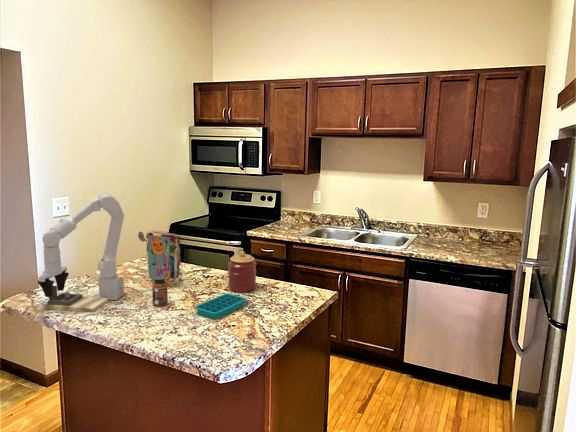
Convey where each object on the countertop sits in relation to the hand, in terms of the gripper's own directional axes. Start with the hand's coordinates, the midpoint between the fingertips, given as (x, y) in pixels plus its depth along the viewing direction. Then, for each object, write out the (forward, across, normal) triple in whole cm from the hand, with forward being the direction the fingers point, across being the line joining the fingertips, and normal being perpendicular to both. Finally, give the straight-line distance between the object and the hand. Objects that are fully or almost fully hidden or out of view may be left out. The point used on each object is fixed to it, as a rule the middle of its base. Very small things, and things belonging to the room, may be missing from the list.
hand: (54, 293), depth 169 cm
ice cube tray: (+5, -6, +67) cm, 68 cm away
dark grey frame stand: (+3, 0, +4) cm, 5 cm away
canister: (+5, -32, +70) cm, 77 cm away
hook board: (+4, 0, +9) cm, 10 cm away
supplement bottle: (+5, -6, +41) cm, 42 cm away
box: (+5, -34, +29) cm, 45 cm away
